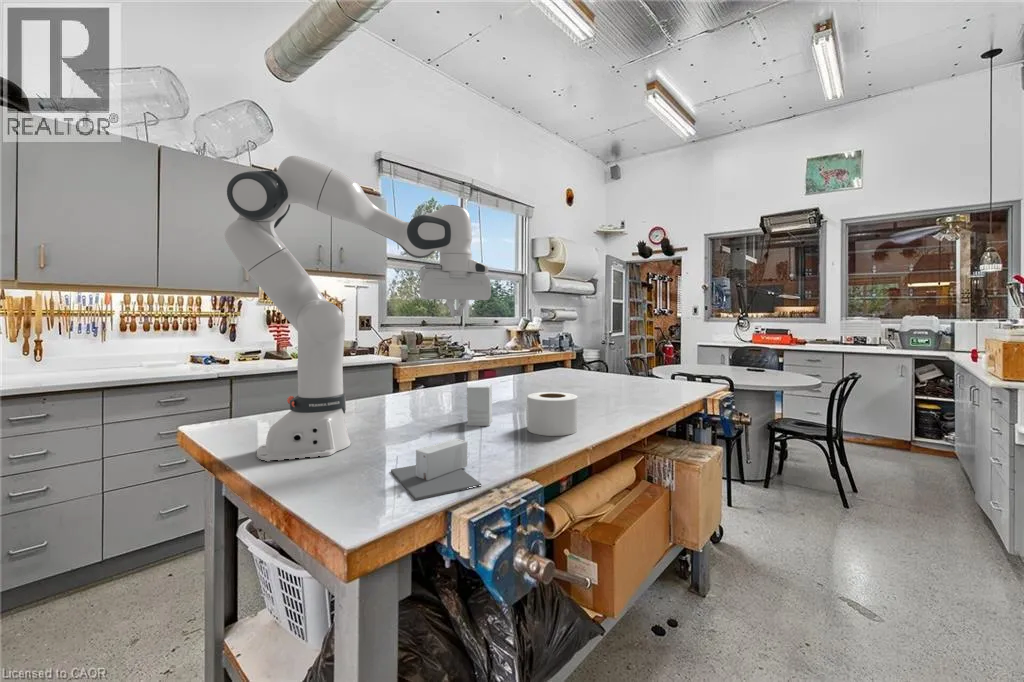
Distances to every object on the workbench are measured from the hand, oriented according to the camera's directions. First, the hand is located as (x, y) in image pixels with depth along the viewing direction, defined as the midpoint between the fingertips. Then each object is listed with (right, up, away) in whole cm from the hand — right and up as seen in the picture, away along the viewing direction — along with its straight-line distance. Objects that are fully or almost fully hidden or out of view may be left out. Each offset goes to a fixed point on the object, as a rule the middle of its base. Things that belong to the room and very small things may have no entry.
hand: (456, 316), depth 124 cm
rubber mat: (-1, -37, -27) cm, 46 cm away
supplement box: (+5, -34, +21) cm, 41 cm away
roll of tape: (+28, -35, +14) cm, 47 cm away
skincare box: (+4, -33, -20) cm, 39 cm away
